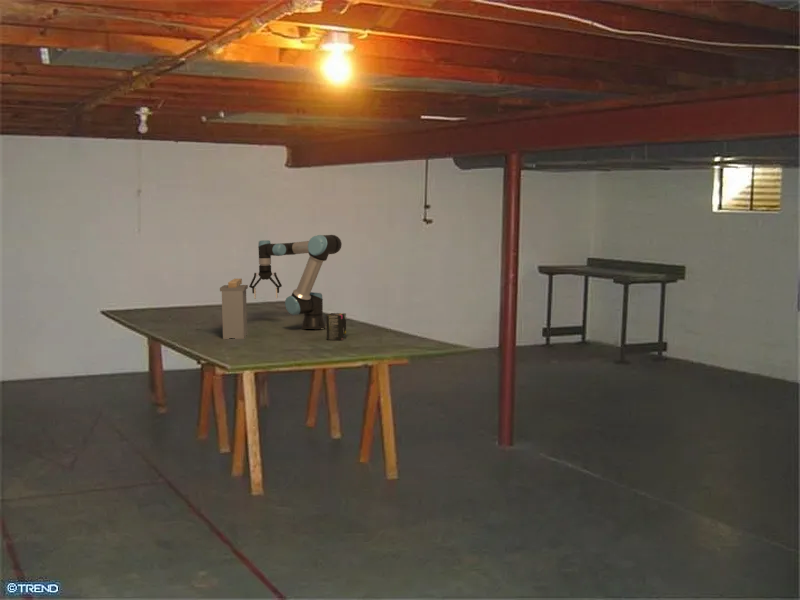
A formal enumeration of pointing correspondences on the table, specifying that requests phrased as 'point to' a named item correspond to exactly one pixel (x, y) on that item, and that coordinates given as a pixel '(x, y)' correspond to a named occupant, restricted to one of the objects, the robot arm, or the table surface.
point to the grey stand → (234, 312)
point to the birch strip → (234, 283)
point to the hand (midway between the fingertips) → (265, 298)
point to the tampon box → (336, 326)
